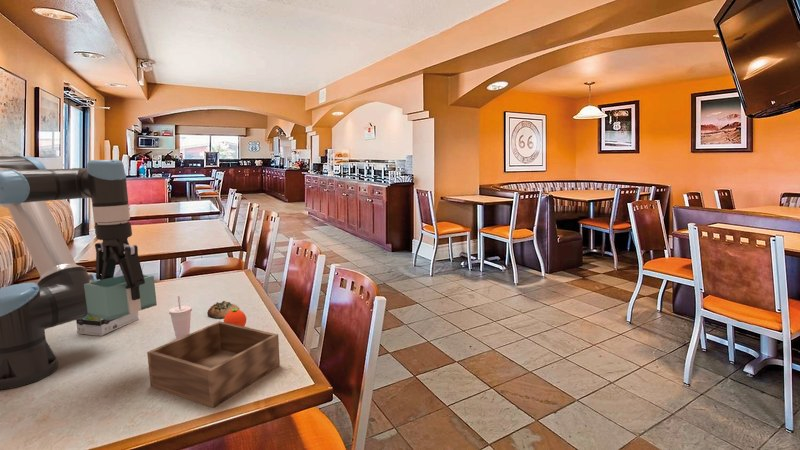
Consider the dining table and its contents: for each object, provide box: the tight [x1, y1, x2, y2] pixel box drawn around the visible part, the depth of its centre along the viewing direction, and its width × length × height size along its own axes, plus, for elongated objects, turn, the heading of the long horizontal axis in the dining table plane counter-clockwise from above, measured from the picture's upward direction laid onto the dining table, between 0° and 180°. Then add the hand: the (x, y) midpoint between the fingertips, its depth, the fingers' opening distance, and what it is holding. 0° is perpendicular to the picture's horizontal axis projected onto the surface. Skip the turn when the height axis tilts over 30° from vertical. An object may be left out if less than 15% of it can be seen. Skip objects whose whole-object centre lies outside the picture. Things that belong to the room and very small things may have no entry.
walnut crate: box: [146, 321, 281, 409], centre depth 111 cm, size 22×22×9 cm
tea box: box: [75, 311, 139, 337], centre depth 143 cm, size 15×10×15 cm
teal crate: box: [84, 273, 157, 321], centre depth 109 cm, size 12×9×8 cm
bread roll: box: [206, 300, 240, 319], centre depth 156 cm, size 11×11×5 cm
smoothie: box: [168, 295, 193, 340], centre depth 134 cm, size 6×6×14 cm
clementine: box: [223, 309, 247, 327], centre depth 141 cm, size 8×7×7 cm
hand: (123, 309), depth 110 cm, fingers closed on teal crate, 9 cm apart
